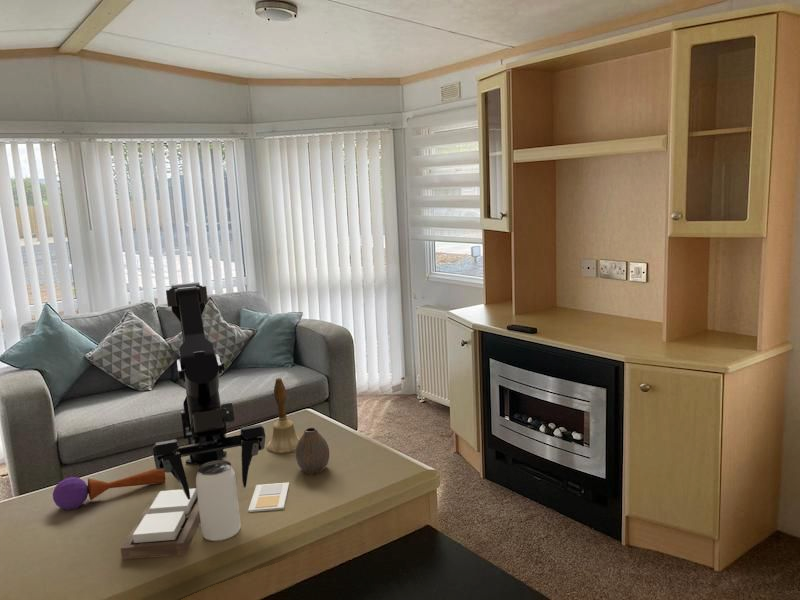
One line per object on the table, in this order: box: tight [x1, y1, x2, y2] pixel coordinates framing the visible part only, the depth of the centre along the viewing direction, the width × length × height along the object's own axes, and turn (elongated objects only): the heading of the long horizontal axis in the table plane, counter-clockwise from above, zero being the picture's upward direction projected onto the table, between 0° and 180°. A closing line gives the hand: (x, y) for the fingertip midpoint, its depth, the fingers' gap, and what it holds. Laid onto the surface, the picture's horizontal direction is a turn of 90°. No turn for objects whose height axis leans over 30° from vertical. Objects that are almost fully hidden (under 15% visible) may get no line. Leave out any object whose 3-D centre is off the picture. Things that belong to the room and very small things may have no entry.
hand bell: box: [266, 377, 301, 454], centre depth 146 cm, size 8×8×16 cm
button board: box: [120, 495, 201, 560], centre depth 114 cm, size 18×10×2 cm, turn 4°
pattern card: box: [247, 481, 290, 513], centre depth 124 cm, size 10×6×1 cm, turn 4°
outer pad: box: [133, 511, 186, 544], centre depth 110 cm, size 7×7×2 cm
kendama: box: [52, 468, 166, 511], centre depth 128 cm, size 6×6×20 cm
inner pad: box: [149, 488, 197, 515], centre depth 118 cm, size 7×7×2 cm
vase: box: [295, 427, 330, 475], centre depth 134 cm, size 7×7×9 cm
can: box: [195, 459, 242, 542], centre depth 111 cm, size 6×6×12 cm
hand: (217, 492), depth 110 cm, fingers open, 9 cm apart
